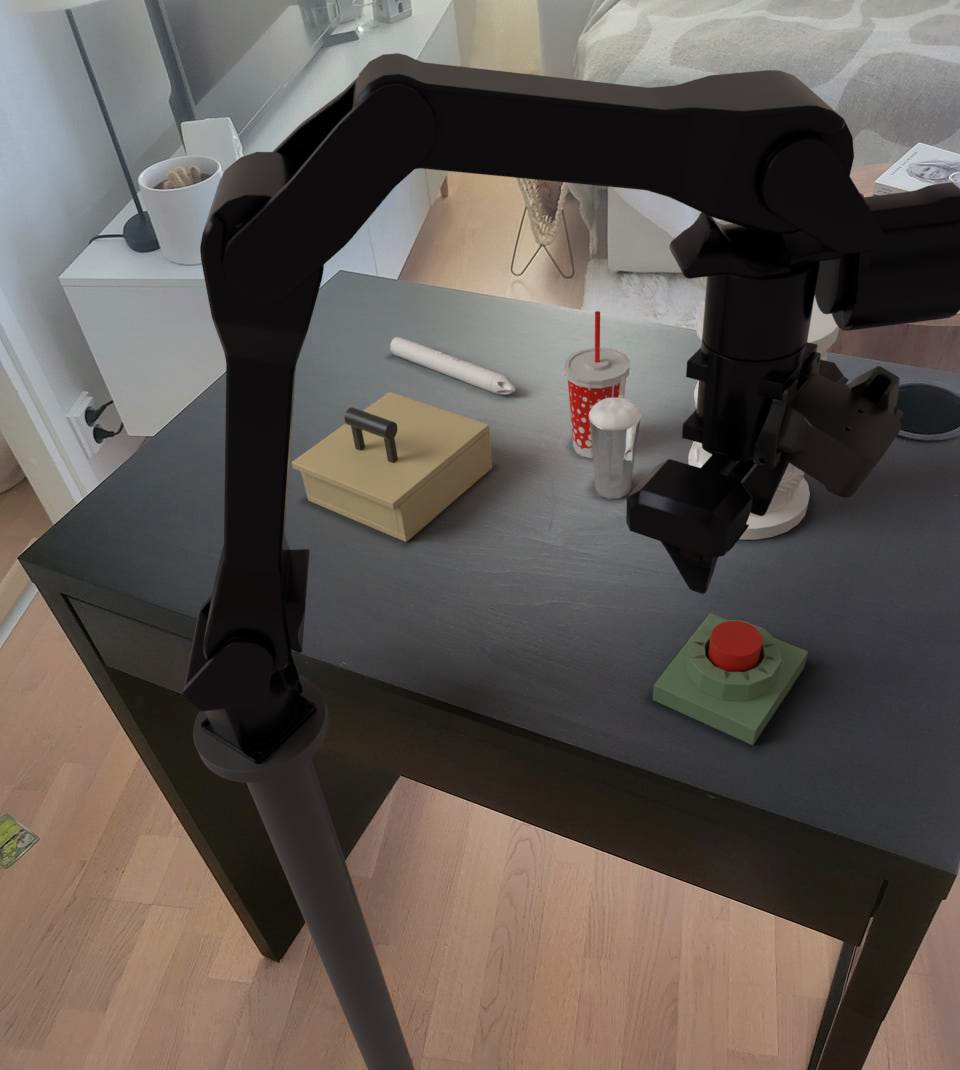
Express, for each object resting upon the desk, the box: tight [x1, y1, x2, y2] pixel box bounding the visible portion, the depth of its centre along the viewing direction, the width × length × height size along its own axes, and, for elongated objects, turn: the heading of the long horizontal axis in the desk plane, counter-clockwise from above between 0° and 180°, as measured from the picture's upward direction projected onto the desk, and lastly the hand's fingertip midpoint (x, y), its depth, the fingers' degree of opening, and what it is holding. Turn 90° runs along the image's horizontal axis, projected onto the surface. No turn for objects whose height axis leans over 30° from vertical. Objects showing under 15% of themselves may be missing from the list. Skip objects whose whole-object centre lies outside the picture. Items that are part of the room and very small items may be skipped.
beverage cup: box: [563, 310, 631, 460], centre depth 89 cm, size 6×6×14 cm
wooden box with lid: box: [291, 391, 490, 509], centre depth 88 cm, size 14×12×5 cm
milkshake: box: [589, 377, 642, 500], centre depth 86 cm, size 4×5×10 cm
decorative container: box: [687, 296, 840, 541], centre depth 80 cm, size 12×12×18 cm
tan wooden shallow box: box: [300, 430, 493, 543], centre depth 91 cm, size 13×12×4 cm
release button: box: [708, 621, 762, 672], centre depth 68 cm, size 4×4×2 cm
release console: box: [652, 612, 809, 746], centre depth 70 cm, size 9×8×4 cm
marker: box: [389, 336, 516, 396], centre depth 105 cm, size 18×2×2 cm, turn 49°
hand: (728, 550), depth 64 cm, fingers open, 9 cm apart
